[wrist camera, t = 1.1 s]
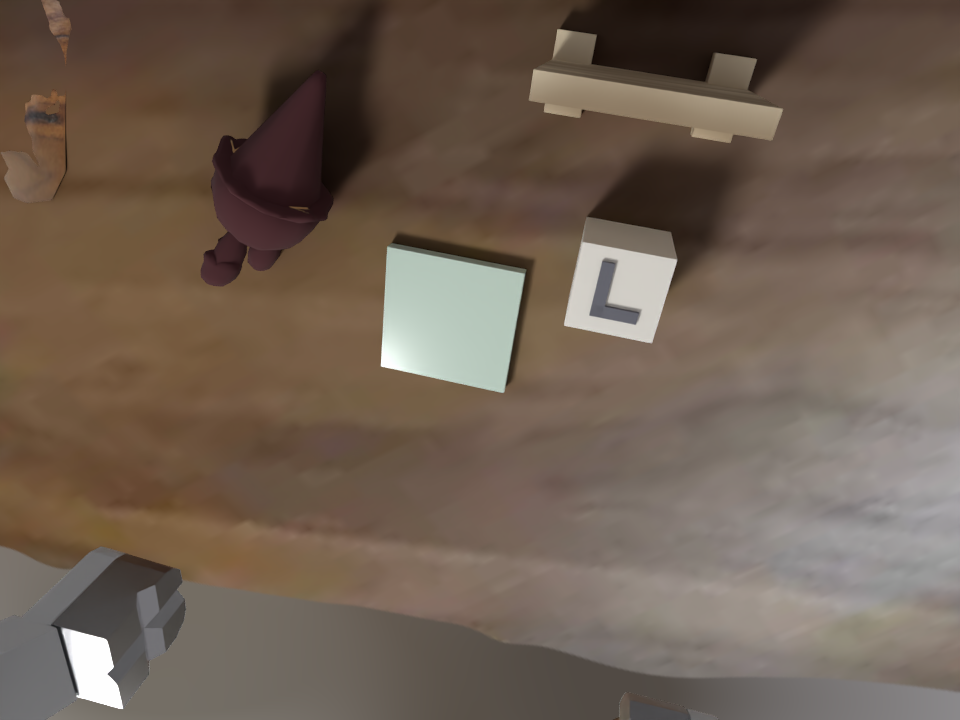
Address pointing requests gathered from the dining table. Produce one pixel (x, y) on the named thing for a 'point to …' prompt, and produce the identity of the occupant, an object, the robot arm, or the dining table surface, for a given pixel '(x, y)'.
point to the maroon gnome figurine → (270, 186)
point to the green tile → (450, 316)
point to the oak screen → (655, 92)
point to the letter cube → (621, 279)
